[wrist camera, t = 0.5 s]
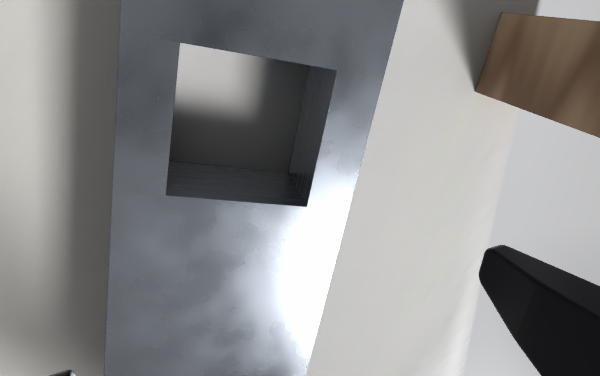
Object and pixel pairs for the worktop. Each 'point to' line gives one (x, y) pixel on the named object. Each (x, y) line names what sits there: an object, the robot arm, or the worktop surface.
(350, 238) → the worktop surface
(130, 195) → the block
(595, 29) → the walnut peg
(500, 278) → the robot arm
